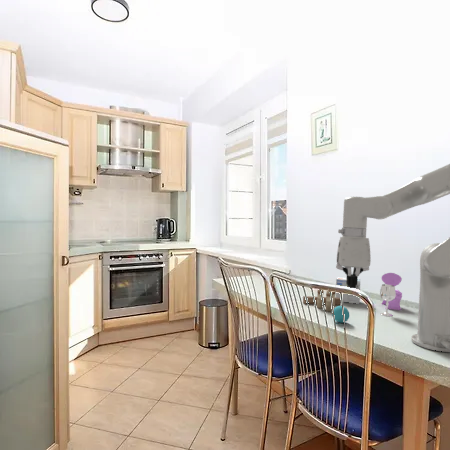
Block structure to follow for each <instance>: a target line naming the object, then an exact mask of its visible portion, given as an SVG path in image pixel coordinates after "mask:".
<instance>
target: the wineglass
mask: <svg viewBox="0 0 450 450" xmlns="http://www.w3.org/2000/svg"><path fill="white" fill-rule="evenodd" d="M395 290H396V286H393V285H387V284H385V283H383V284H381V286H380V289H379V296H380V298H381V299H382V301H383V300H385V301H387V302H386V306H385V308H386V309H385V312H381V313H380V315H381V316H384V317H393V314H392V313H389V312H388V310H389V309H388V304H389V303H388V301H392V300H394V299H395V296H396V292H395Z"/></svg>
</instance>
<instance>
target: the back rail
mask: <svg viewBox="0 0 450 450" xmlns="http://www.w3.org/2000/svg"><path fill="white" fill-rule="evenodd" d="M305 296H306V295H303V297H302V299H303V300H302V303H303V304H304V305H307V304H306V300H305ZM313 297H315V300H316V304H314V302H313ZM313 297H312V296H310V295H309V296H308V295H307V298H308V302H309V304H308V305H317V296H313ZM323 298H324V303H325V305H324V306H326V296H323ZM335 306H341V302H340V298H337V297H336V296H335Z"/></svg>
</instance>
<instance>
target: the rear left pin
mask: <svg viewBox="0 0 450 450" xmlns="http://www.w3.org/2000/svg"><path fill="white" fill-rule="evenodd" d="M324 291H325V290H322V293H323V294H324ZM316 292H317V296H316V297H317V304H316V309H321V310H322V309H323V307H324V306H323V307H322V300H321V295H320V290H318V289H317V291H316Z"/></svg>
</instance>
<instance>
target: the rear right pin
mask: <svg viewBox="0 0 450 450" xmlns="http://www.w3.org/2000/svg"><path fill="white" fill-rule="evenodd" d="M332 294H333V295H332V298H333V306H334V308H335V306H336V305H335V297H336V291H335V292H332Z"/></svg>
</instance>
